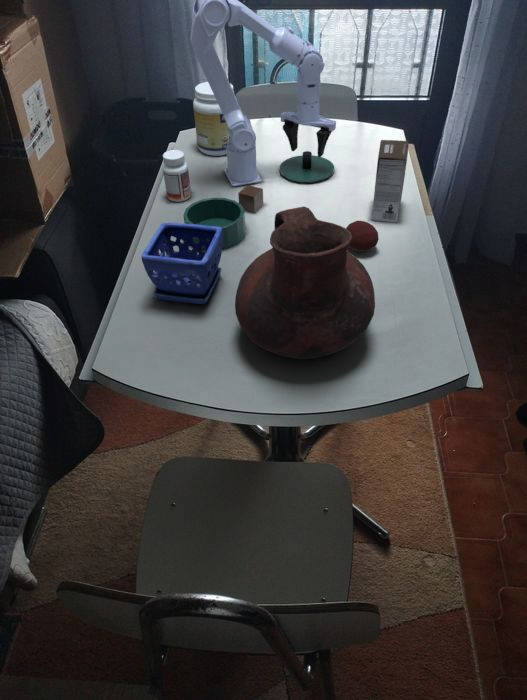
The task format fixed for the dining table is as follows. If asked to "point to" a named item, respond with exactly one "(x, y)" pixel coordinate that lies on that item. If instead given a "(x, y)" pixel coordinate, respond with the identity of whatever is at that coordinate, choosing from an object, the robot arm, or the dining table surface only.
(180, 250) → the flower pot
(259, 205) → the block
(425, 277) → the dining table surface
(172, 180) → the pill bottle
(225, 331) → the dining table surface
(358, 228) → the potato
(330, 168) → the tin lid
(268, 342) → the jug
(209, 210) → the tin
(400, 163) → the coffee box
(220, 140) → the supplement tub
